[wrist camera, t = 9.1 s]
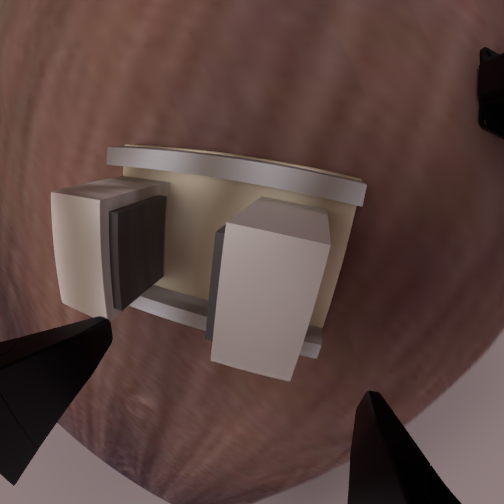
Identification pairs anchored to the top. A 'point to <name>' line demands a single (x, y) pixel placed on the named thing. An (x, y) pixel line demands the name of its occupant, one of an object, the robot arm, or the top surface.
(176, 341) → the top surface
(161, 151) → the beige clamp block
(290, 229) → the block
